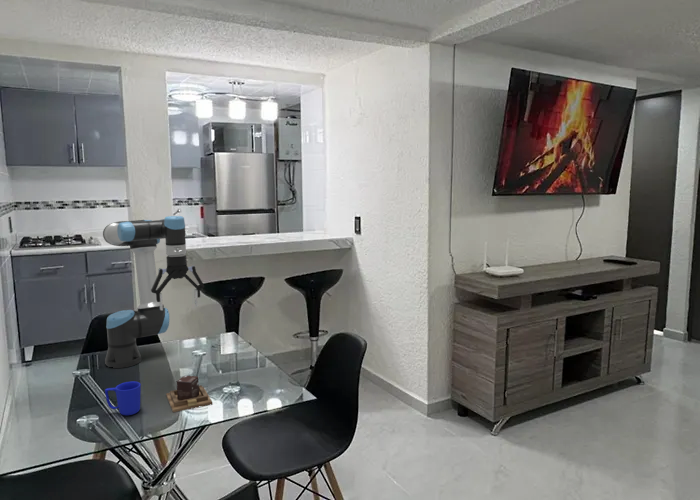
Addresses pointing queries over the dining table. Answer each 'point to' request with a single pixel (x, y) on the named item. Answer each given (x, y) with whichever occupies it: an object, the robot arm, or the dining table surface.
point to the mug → (126, 397)
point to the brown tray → (188, 400)
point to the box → (187, 387)
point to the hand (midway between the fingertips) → (179, 307)
